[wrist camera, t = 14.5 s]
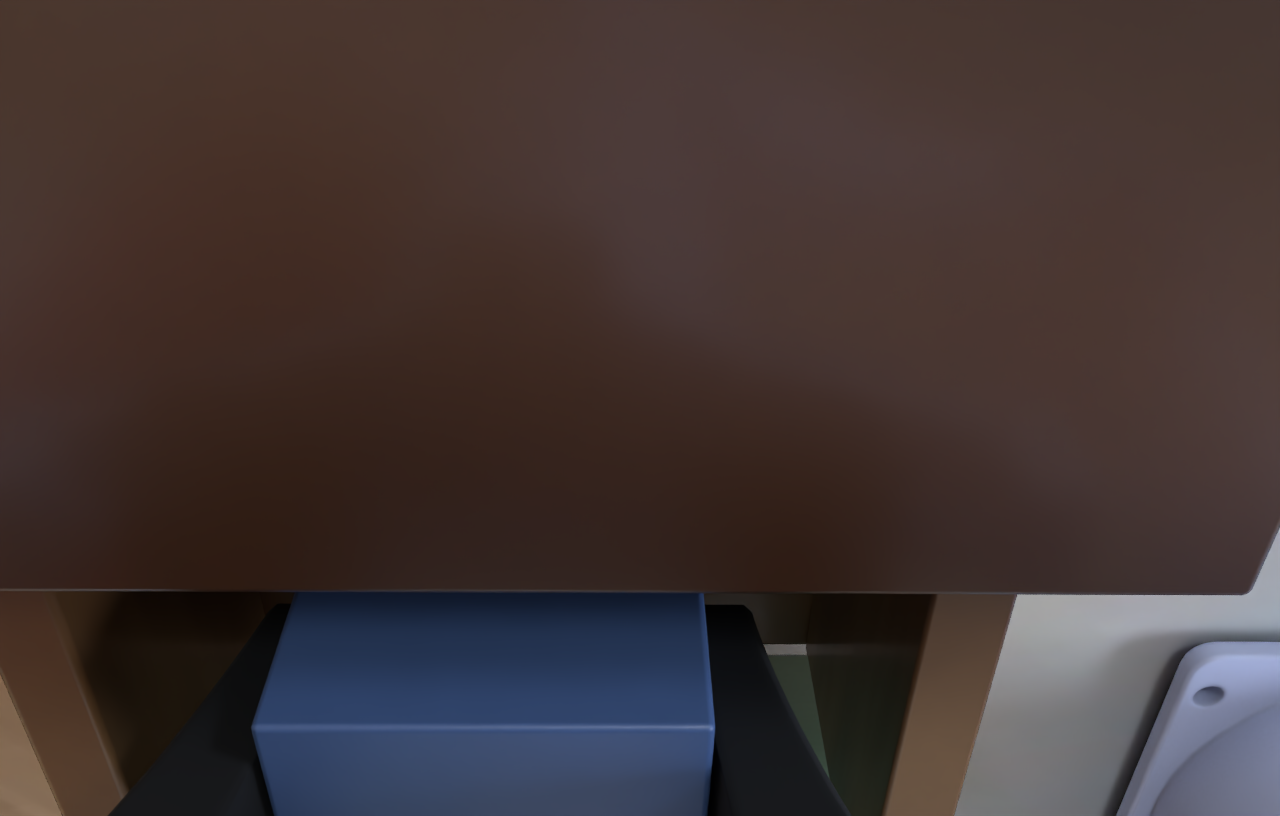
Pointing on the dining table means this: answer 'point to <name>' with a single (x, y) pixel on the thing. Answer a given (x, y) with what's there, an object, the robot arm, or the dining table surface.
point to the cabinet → (639, 296)
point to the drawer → (827, 623)
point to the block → (489, 705)
